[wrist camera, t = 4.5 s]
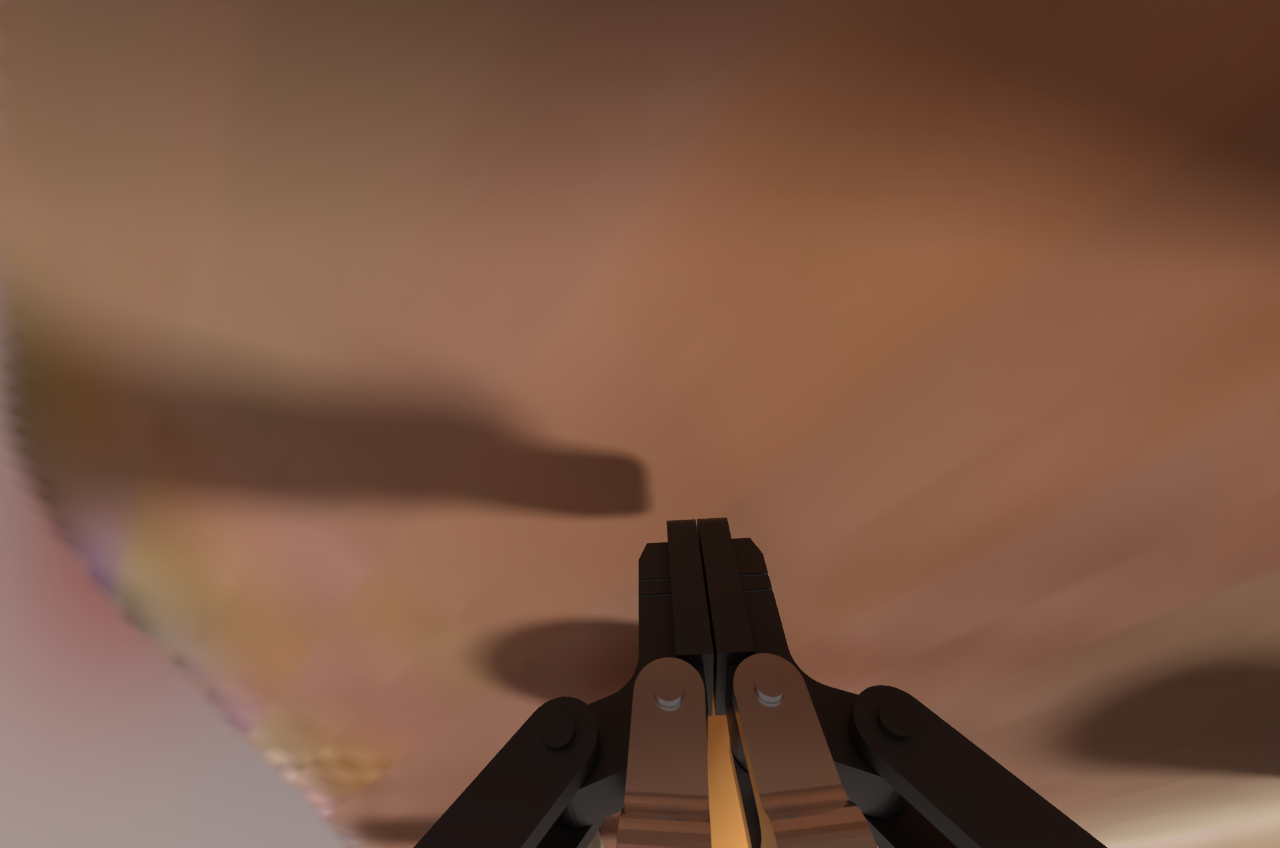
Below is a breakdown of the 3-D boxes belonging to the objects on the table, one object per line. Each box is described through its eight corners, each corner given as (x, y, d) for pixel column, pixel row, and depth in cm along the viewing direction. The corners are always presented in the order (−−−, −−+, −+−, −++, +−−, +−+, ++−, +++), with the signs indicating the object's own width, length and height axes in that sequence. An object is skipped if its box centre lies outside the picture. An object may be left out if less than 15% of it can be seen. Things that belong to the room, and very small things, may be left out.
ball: (610, 632, 18) (598, 847, 13) (783, 625, 17) (841, 842, 12) (625, 718, 21) (620, 916, 16) (770, 713, 21) (812, 913, 16)
